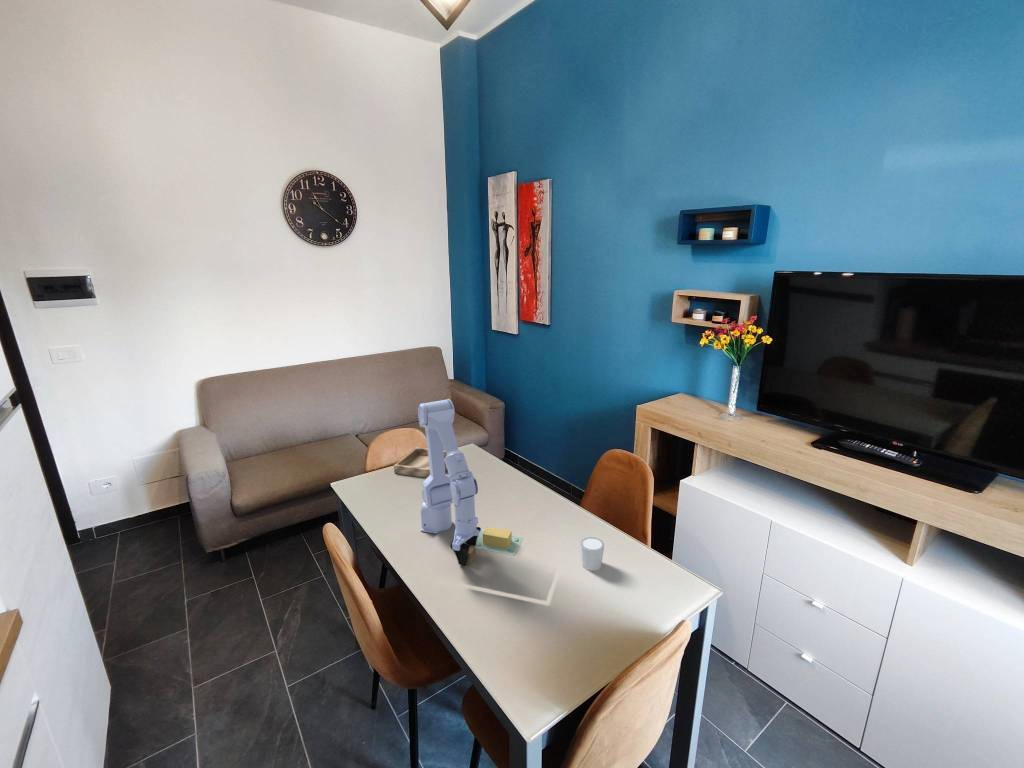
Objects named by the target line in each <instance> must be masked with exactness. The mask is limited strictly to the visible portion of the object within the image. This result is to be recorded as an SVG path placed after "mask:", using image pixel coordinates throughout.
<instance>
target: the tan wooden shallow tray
mask: <svg viewBox="0 0 1024 768" xmlns="http://www.w3.org/2000/svg"><path fill="white" fill-rule="evenodd" d="M443 454H444V459H445V457H446V455H447V454H446V451H445V450H443ZM444 465H445V471H447V467H446V464H445V460H444ZM393 470H394V471H393V473H394V474H396V473H398V474H397V475H403V476H411V477H417V478H424V479H427V478H428V477H429V476H430V468H429V459H428V449H427V447H426V448H425V447H415V448H413V450H411V451H410V452H408V453H407V454H406V455H405V456H404V457H402V458H401V459H400V460H398V461H397V462H396V463H395V464H393Z"/></svg>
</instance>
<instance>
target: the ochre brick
mask: <svg viewBox="0 0 1024 768" xmlns="http://www.w3.org/2000/svg"><path fill="white" fill-rule="evenodd" d="M483 531H484V533H483V544H485V545H491V546H496V547H502V548H507V549H508V547H509V545H510V543H511V542H512V536H513V534H512V533H513V532H512V530H508V529H501V528H496V527H490V526H489V527H488V526H487V527H486V528H485V530H483Z"/></svg>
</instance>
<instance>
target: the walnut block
mask: <svg viewBox="0 0 1024 768" xmlns="http://www.w3.org/2000/svg"><path fill="white" fill-rule="evenodd" d="M467 545H468V544H467ZM476 549H477V548H475V546H474V545H471V546H470V548H469V551H468V556H467V563H466V565H467V564H469V565H471V564H472V563H473V561H474V559H475V558H476V555H477V553H476Z"/></svg>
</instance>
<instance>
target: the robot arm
mask: <svg viewBox="0 0 1024 768" xmlns="http://www.w3.org/2000/svg"><path fill="white" fill-rule="evenodd" d="M455 414H456V413H455V406H454V403H453V401H452V400H451V399H450V398H447V399H442V400H437V401H430V402H425V403H423V402H421V403H420V404H419V405H418V408H417V416H418V424H419V427H420V428H424V430H425V431H424V432H425V438H426V449H428V459H429V468H430V476H429V477H428V478H425V480H424V481H422V486H421V487H422V488H421V489H422V490H421V496H422V497H421V498H422V500H423V503H422V504H421V508H420V521H421V522H420V523H421V528H420V532H425V533H430V534H435V535H437V534H438V533H439V532H445V531H447V530H449V529H451V528H452V526H453V521H452V520H453V519H452V517H453V516H452V504H454V506H453V507H454V522H455V523H454V525H455V529H454V536H453V540H452V541H451V542H450V545H449V546H450V549H451V550H452V551H453V554H455V556H456V559H457V563H458V564H459V565H460V566H461V565H462V566H467V556H468V551H469V548H470V546H471V545H474V546H475V547H476V542H477V538H478V535H479V534H480V532H481V531H482V528H481V527H480V526H477V525H479V517H478V516H476V503H475V502H476V499H475V497H476V496H475V495H478V493H479V486H478V481H477V479H476V476H475V475H474V474H473V472H472V470H470V469H469V465H468V464H467V460H466V457H465V455H464V452H462V451H460V450H459V447H458V443H457V439H456V435H455V434H456V433H455V431H454V427H453V422H454V420H455ZM443 451H446V454H447V455H446V457H445V459H444V454H443ZM444 460H445V464H446V467H447V469H446V470H445V465H444ZM446 471H447V472H448V474H447V473H446ZM467 544H468V545H467Z"/></svg>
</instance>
